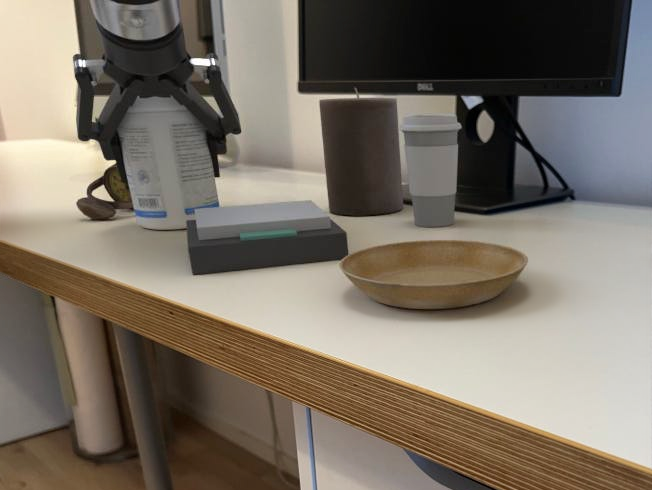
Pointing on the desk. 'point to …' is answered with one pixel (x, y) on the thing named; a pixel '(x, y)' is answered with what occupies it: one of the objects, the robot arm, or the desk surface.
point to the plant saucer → (433, 272)
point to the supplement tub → (166, 163)
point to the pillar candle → (362, 155)
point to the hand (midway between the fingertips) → (170, 171)
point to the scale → (262, 236)
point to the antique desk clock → (115, 189)
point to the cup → (432, 166)
